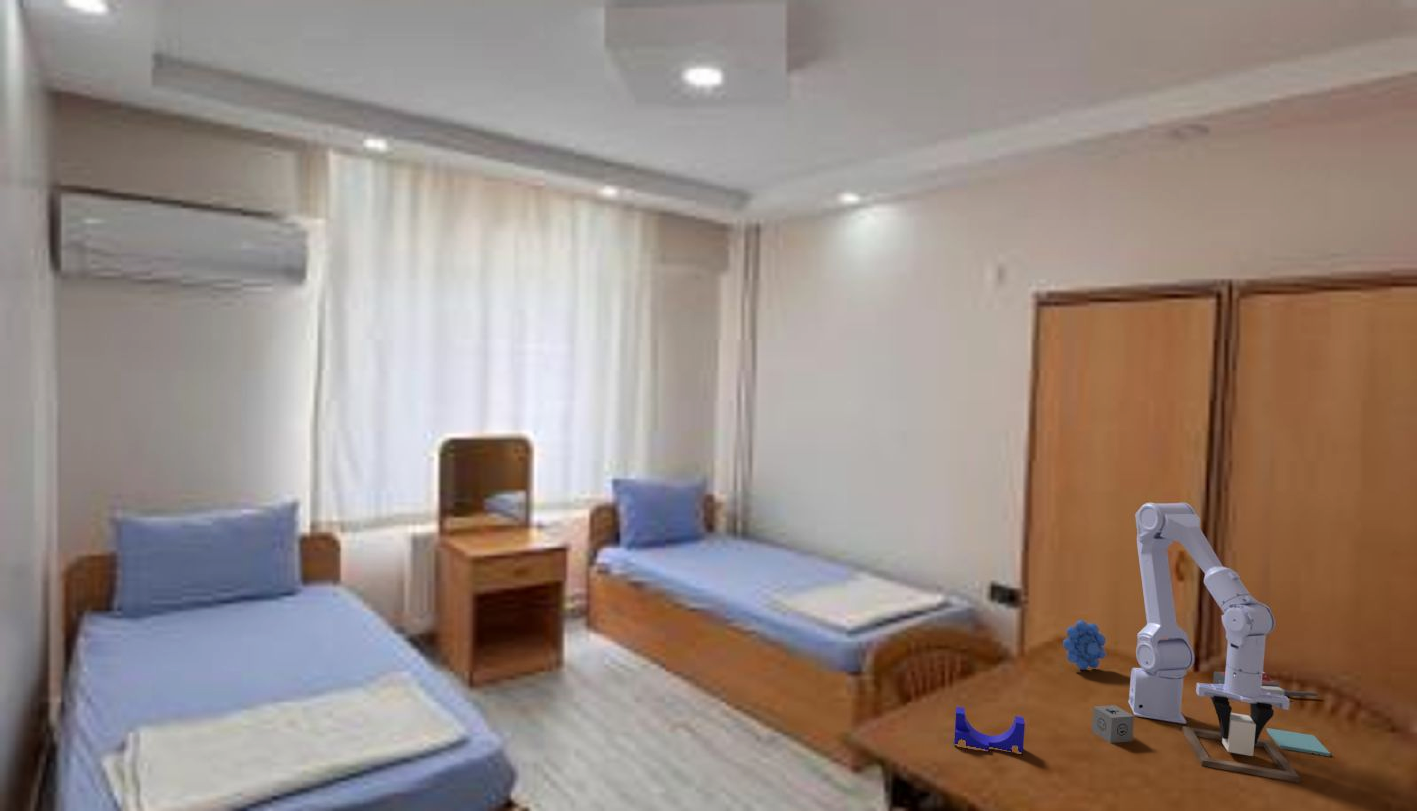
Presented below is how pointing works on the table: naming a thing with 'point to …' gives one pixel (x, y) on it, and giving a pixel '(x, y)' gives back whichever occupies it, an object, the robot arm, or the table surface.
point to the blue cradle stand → (985, 741)
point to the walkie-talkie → (1266, 685)
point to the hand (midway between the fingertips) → (1238, 739)
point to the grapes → (1084, 645)
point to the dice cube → (1112, 724)
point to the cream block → (1240, 735)
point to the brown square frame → (1283, 774)
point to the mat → (1298, 742)
